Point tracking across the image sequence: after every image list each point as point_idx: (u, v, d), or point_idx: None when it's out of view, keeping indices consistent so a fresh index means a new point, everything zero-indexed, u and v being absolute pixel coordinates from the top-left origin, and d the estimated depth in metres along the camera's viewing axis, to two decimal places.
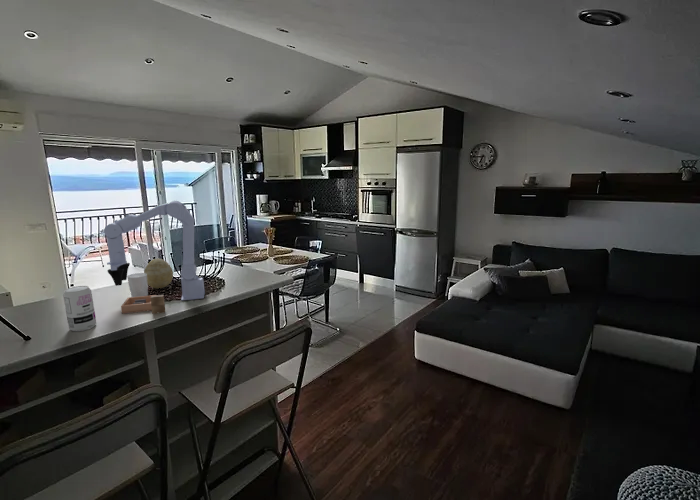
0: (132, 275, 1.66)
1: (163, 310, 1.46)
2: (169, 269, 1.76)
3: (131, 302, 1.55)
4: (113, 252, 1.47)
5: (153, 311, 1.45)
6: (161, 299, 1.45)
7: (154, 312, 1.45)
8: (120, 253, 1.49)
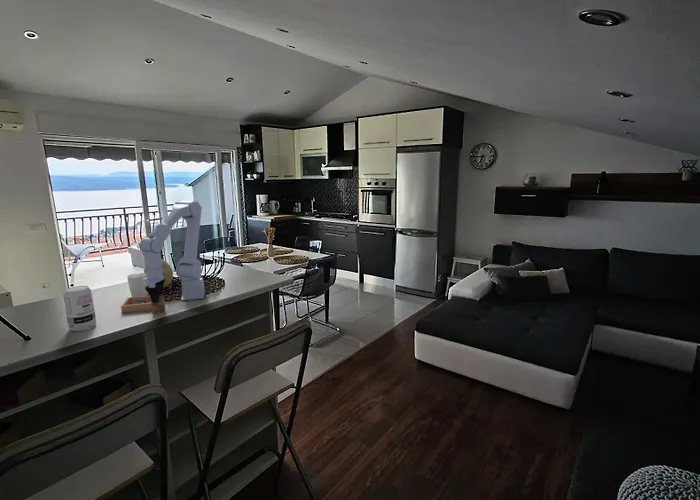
0: (132, 275, 1.66)
1: (163, 310, 1.46)
2: (169, 269, 1.76)
3: (131, 302, 1.55)
4: (158, 267, 1.41)
5: (153, 311, 1.45)
6: (161, 299, 1.45)
7: (154, 312, 1.45)
8: (157, 269, 1.41)
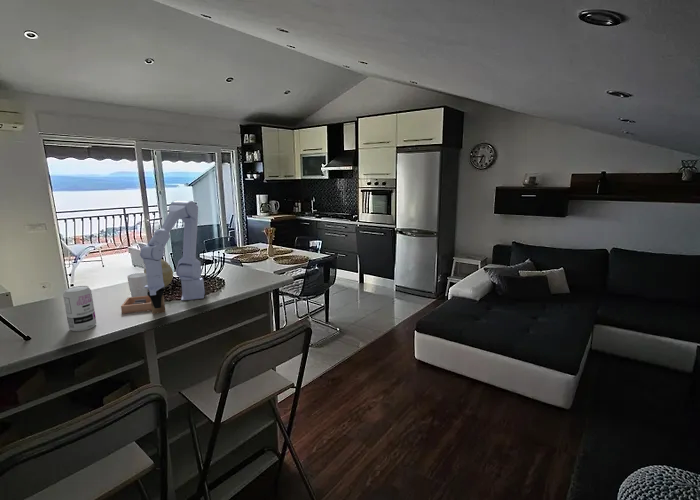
0: (132, 275, 1.66)
1: (163, 310, 1.46)
2: (169, 269, 1.76)
3: (131, 302, 1.55)
4: (158, 275, 1.42)
5: (153, 311, 1.45)
6: (161, 299, 1.45)
7: (154, 312, 1.45)
8: (158, 276, 1.42)
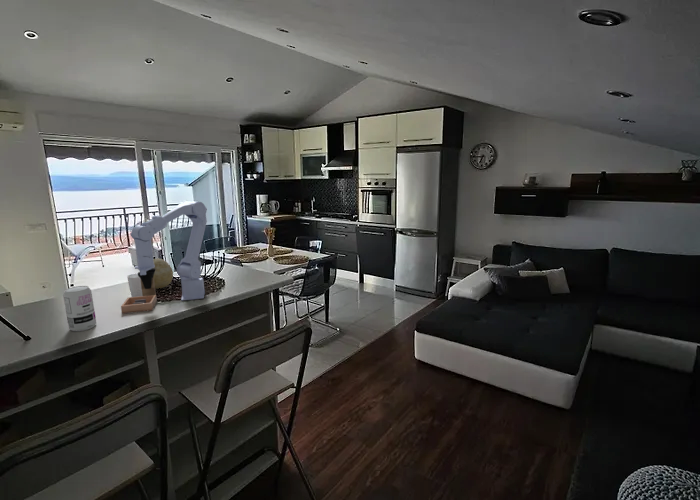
0: (132, 275, 1.66)
1: (153, 293, 1.47)
2: (169, 269, 1.76)
3: (131, 302, 1.55)
4: (147, 255, 1.42)
5: (143, 294, 1.45)
6: None
7: (144, 295, 1.46)
8: (149, 257, 1.42)
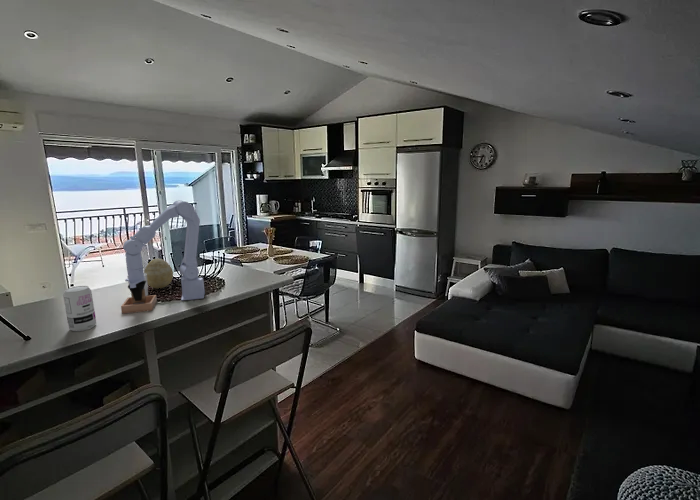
0: None
1: None
2: (169, 269, 1.76)
3: (131, 302, 1.55)
4: (134, 269, 1.46)
5: None
6: (142, 293, 1.50)
7: None
8: (139, 270, 1.47)
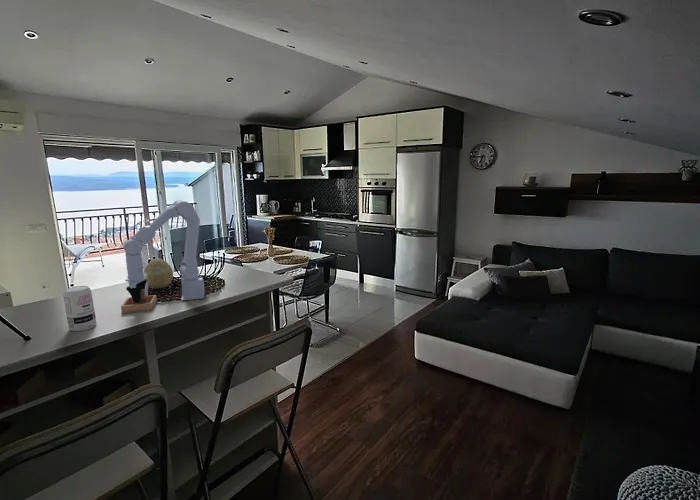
0: None
1: None
2: (169, 269, 1.76)
3: (131, 302, 1.55)
4: (134, 269, 1.46)
5: None
6: (142, 293, 1.50)
7: None
8: (139, 270, 1.47)
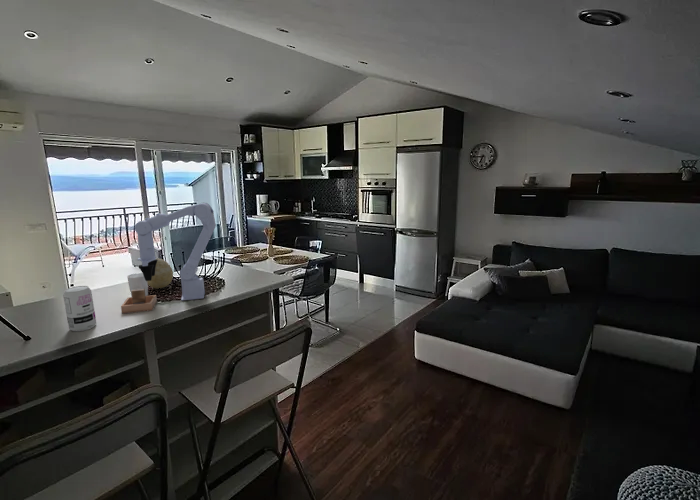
0: (132, 275, 1.66)
1: None
2: (169, 269, 1.76)
3: (131, 302, 1.55)
4: (143, 248, 1.52)
5: None
6: (142, 293, 1.50)
7: None
8: (150, 249, 1.54)
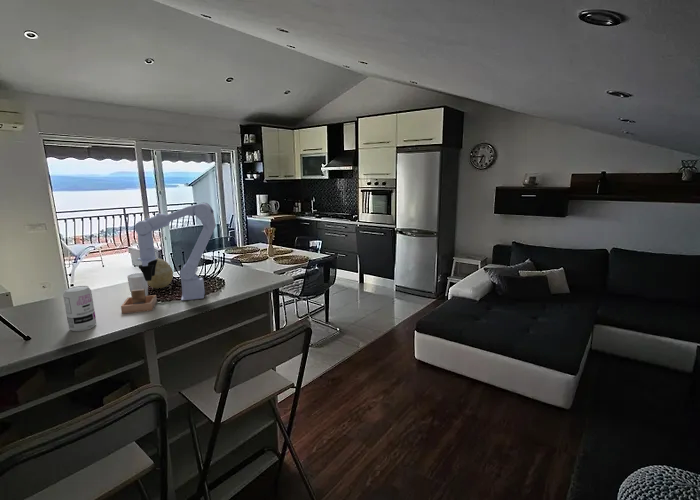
0: (132, 275, 1.66)
1: None
2: (169, 269, 1.76)
3: (131, 302, 1.55)
4: (143, 248, 1.52)
5: None
6: (142, 293, 1.50)
7: None
8: (150, 249, 1.54)
